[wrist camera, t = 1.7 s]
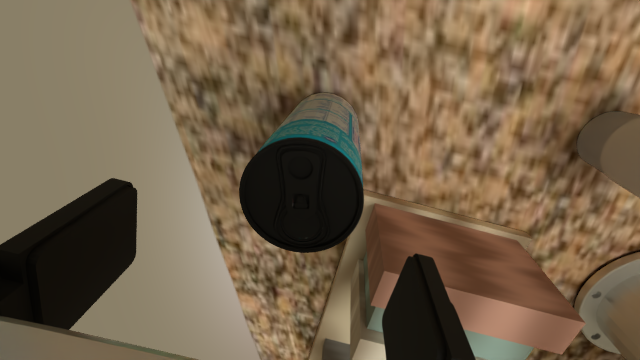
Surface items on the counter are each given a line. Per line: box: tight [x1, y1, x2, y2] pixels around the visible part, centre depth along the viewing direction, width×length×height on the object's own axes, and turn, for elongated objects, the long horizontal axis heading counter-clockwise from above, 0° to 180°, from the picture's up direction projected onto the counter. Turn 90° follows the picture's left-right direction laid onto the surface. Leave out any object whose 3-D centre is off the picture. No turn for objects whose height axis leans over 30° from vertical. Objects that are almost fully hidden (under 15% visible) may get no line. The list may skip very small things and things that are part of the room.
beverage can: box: [239, 93, 364, 253], centre depth 22 cm, size 6×6×15 cm
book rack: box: [308, 190, 586, 360], centre depth 31 cm, size 16×23×11 cm
